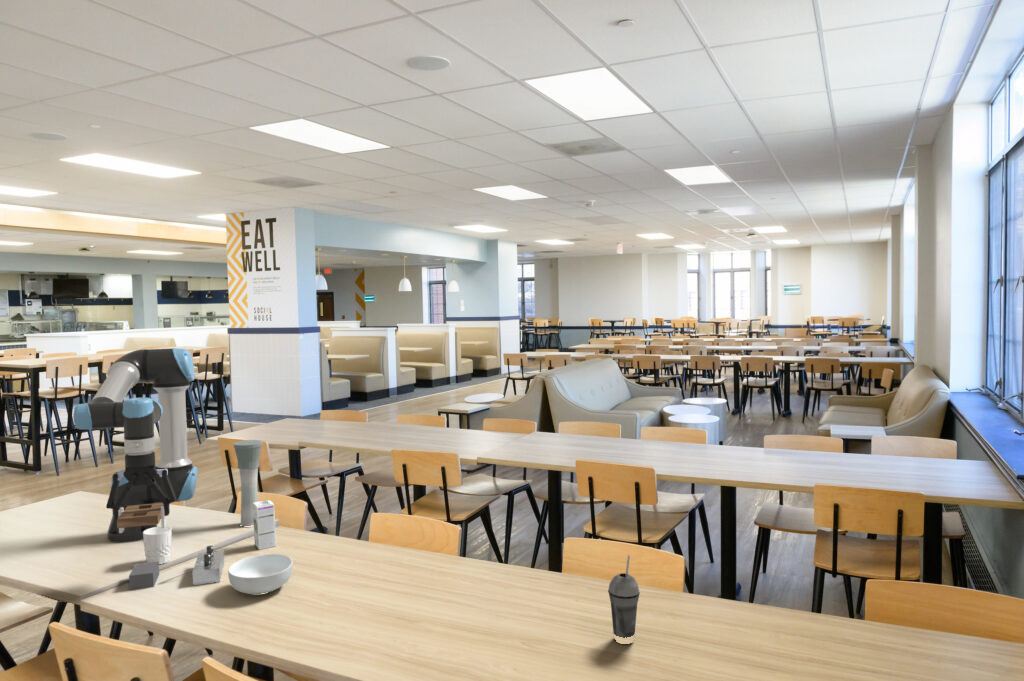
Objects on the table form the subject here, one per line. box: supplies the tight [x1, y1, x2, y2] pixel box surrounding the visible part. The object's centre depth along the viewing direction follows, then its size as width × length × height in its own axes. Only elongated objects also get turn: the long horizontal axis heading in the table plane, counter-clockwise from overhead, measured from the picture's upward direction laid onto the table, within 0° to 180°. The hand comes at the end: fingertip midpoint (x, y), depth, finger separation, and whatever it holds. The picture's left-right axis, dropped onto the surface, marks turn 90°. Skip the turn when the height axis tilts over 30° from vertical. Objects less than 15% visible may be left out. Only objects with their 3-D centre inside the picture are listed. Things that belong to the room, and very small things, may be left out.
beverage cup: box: [607, 554, 641, 638], centre depth 154 cm, size 7×7×20 cm
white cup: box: [143, 525, 173, 564], centre depth 206 cm, size 8×8×10 cm
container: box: [233, 439, 263, 526], centre depth 241 cm, size 10×10×30 cm
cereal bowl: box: [227, 553, 294, 595], centre depth 185 cm, size 17×17×7 cm
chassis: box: [192, 545, 225, 586], centre depth 196 cm, size 15×7×7 cm, turn 19°
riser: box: [128, 562, 160, 591], centre depth 191 cm, size 9×6×4 cm, turn 19°
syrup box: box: [253, 499, 277, 551], centre depth 219 cm, size 6×6×14 cm
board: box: [117, 503, 163, 528], centre depth 190 cm, size 13×10×2 cm
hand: (143, 529), depth 190 cm, fingers closed on board, 10 cm apart
